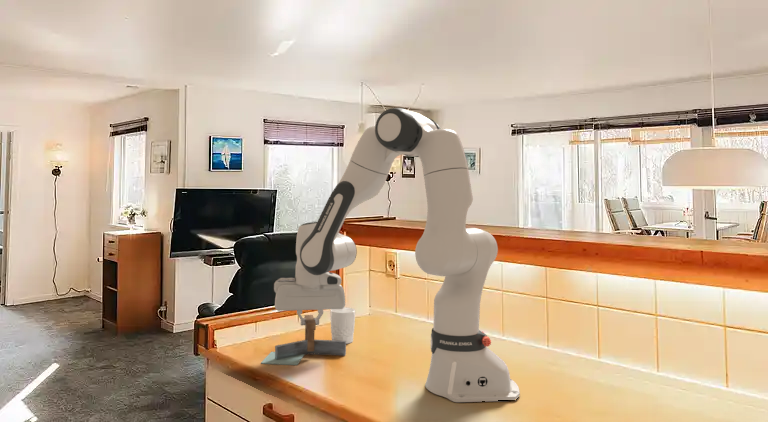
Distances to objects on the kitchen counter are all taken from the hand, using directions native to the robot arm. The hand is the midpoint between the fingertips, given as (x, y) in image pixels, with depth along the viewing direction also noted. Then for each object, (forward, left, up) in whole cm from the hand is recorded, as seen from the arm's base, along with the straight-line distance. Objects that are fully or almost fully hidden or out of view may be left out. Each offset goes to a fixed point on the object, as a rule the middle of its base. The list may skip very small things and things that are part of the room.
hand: (309, 324), depth 153 cm
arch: (0, 0, -6) cm, 6 cm away
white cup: (-8, -14, -9) cm, 18 cm away
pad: (+6, +6, -9) cm, 12 cm away
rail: (-1, +3, -8) cm, 9 cm away
